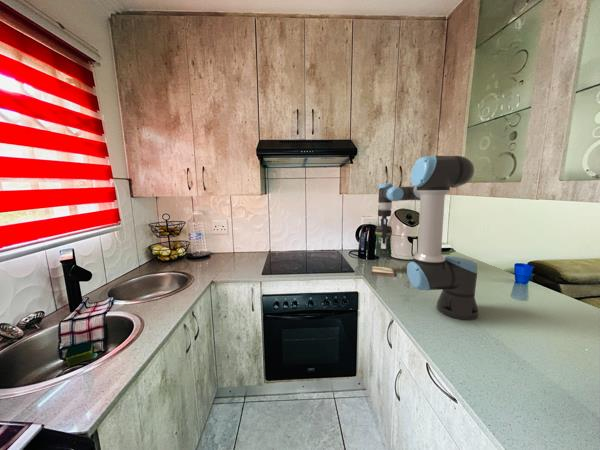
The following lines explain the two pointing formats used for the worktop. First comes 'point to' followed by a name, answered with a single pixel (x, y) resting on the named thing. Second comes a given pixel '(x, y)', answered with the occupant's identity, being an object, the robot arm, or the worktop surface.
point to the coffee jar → (378, 249)
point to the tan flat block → (382, 271)
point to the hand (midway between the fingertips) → (383, 246)
